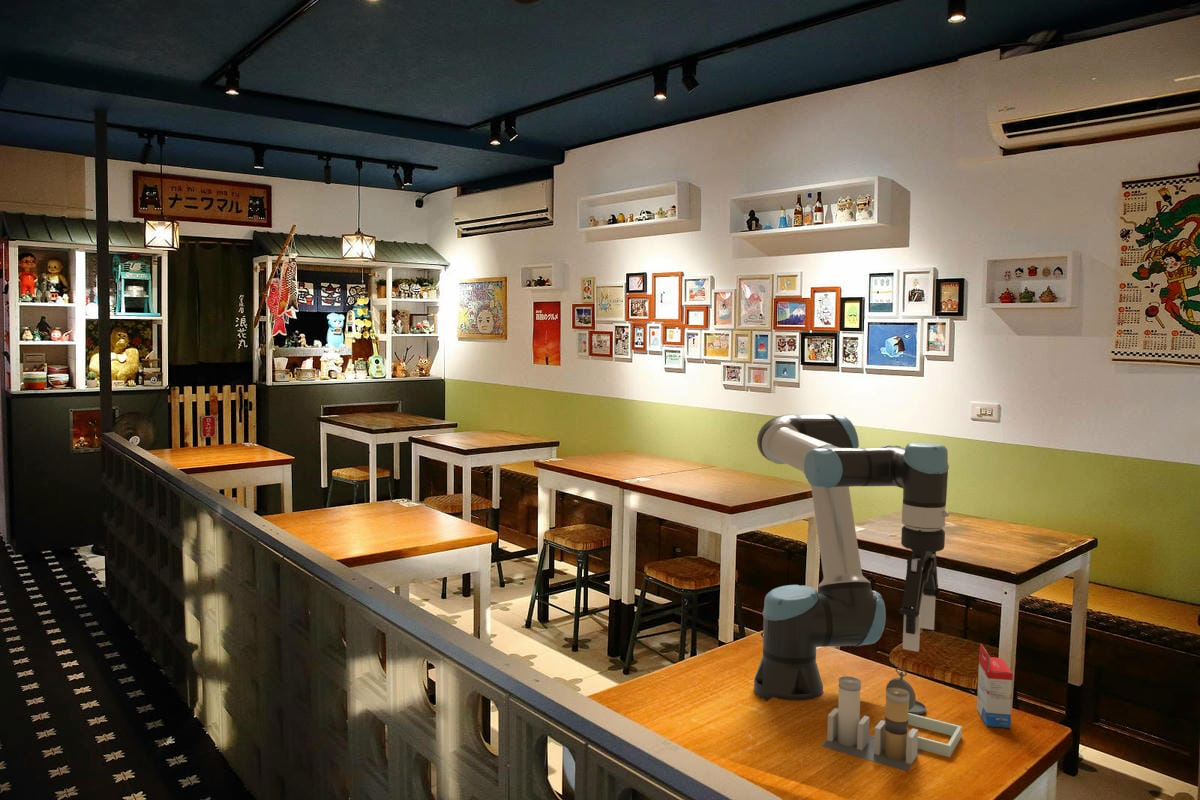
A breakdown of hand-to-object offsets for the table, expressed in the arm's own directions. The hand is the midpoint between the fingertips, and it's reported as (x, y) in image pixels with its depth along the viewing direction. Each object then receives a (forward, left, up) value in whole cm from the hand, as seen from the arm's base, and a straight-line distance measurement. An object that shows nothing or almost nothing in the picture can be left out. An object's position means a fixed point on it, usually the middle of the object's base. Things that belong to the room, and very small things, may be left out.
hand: (918, 638), depth 158 cm
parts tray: (0, +6, -23) cm, 24 cm away
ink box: (+9, +27, -23) cm, 37 cm away
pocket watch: (-7, +20, -23) cm, 32 cm away
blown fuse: (-2, -4, -22) cm, 22 cm away
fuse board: (-7, -4, -23) cm, 24 cm away
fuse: (-11, -4, -22) cm, 25 cm away
